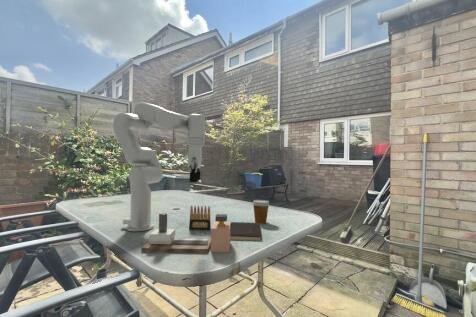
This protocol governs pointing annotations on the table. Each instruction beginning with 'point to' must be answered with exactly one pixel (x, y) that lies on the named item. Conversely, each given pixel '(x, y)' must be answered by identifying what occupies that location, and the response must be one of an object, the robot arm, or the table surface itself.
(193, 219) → the ammunition clip
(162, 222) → the carriage
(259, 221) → the disposable coffee cup
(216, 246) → the pink block
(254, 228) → the hardcover book
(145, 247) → the rail bed
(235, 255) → the table surface
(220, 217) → the button
